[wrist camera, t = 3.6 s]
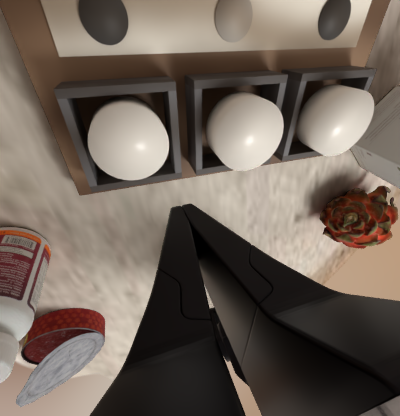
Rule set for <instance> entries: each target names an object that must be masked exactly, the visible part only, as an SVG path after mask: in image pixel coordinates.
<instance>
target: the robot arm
mask: <svg viewBox="0 0 400 416" xmlns="http://www.w3.org/2000/svg"><path fill="white" fill-rule="evenodd" d="M204 284H205V287H206V289H207V291H208V293H209V296H210V298H211V300H212V303H213V305H214V308H209V304H208V300H207V295H206V291H205V287H204ZM223 356H224V357H223ZM224 358H225V359H226V361H227V362H228V361H231V363H232V366H233V368H234V371H235V373H236V374H237V376H238V377H239V378H240V379H242V380H243V381H244V382H245V383H246V384H247V385H248V386H249V387H250V389H251V392H252V394H253V396H254V398H255V401H256V403H257V405H258V408H259V410H260V412H261V415H262V416H400V301H395V300H388V299H380V298H373V297H365V296H358V295H350V294H345V293H341V292H337V291H334V290H332V289H329V288H327V287H325V286H323V285H321V284H319V283H317V282H315V281H313V280H312V279H310V278H308V277H306V276H304V275H302V274H301V273H299V272H297V271H295V270H293V269H291V268H290V267H288V266H286V265H284V264H282V263H281V262H279V261H277V260H275V259H274V258H272V257H270V256H269V255H267V254H266V253H264V252H263V251H261V250H259V249H258V248H256V247H255V246H254V245H251V244H250V243H249V242H247V241H246V240H245V239H243V238H242V237H240V236H239V235H237V234H236V233H234V232H233V231H231V230H230V229H228V228H227V227H225V226H224V225H222V224H221V223H219V222H218V221H216V220H215V219H213V218H212V217H210V216H209V215H207V214H206V213H205V212H203V211H202V210H200V209H199V208H197V207H196V206H194V205H193V204H186V205H182V207H181V206H176V207H172V208H171V210H170V215H169V219H168V224H167V228H166V233H165V237H164V242H163V246H162V251H161V255H160V260H159V264H158V270H157V272H156V277H155V281H154V285H153V289H152V292H151V295H150V298H149V301H148V304H147V307H146V310H145V312H144V315H143V318H142V320H141V323H140V326H139V328H138V331H137V333H136V336H135V339H134V341H133V344H132V347H131V349H130V352H129V354H128V356H127V358H126V361H125V363H124V365H123V367H122V369H121V370H120V372H119V374H118V375H117V377H116V378H115V380H114V381H113V383H112V384H111V386H110V387H109V389H108V390H107V391H106V393H105V394H104V396H103V397H102V399H101V400H100V401H99V403H98V404H97V406H96V407H95V409H94V410H93V412H92V413H91V414H90V416H246V415H245V412H244V410H243V407H242V405H241V402H240V399H239V397H238V394H237V391H236V389H235V386H234V383H233V381H232V378H231V376H230V373H229V370H228V368H227V365H226V362H225V360H224Z"/></svg>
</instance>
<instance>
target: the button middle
mask: <svg viewBox="0 0 400 416" xmlns="http://www.w3.org/2000/svg"><path fill="white" fill-rule="evenodd" d="M283 128H284V124H283V117H282V114H281V112H280V110H279V108H278V107H277V106H276V105H275V104H274V103H272V102H270V101H268V100H266V99H264V98H261V97H259V96H257V95H254V94H252V93H249V92H245V91H239V92H234V93H231V94H229V95H227V96H225V97H224V98H222V99H221V100H220V101H219V102H218V103H217V104H216V105H215V106H214V108H213V109H212V111H211V112H210V114H209V117H208V120H207V123H206V139H207V142H208V144H209V146H210V148H211V149H212V150H213V152H214V153H215V154H216V155H217V156H218V157H219V159H220V160H221V161H222V162H223V163H224V164H225V165H226V166H227V167H228V168H230V169H233V170H236V171H247V170H251V169H254V168H256V167H258V166H260V165H262V164H263V163H264V162H266V161H267V160H268V159H269V158H270V157H271V156H272V155H273V153H274V152H275V151H276V149H277V147H278V145H279V143H280V141H281V138H282V135H283Z"/></svg>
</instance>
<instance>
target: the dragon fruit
mask: <svg viewBox="0 0 400 416" xmlns="http://www.w3.org/2000/svg"><path fill="white" fill-rule="evenodd" d="M387 192H388V193H390V192H391V190H390V189H389V188H388V187H386V186H379V187H377V189H376V190H375V191H373V192H371V193H369V194H366V193H365V191H364V190H362V189H361V190H360V189H359V188H356V189H353V190H351V191H348V192H347V193H346V195H345V196H344V197H343V196H340V197H337V198H335V199H333V200H332V201H331V202H330V203H329V204H327V209H326V210H323V211H322V213H321V216H320V220H321V221H322V223H323V224H324V225H325V226H327V227H326V228H324V232H323V234H325V235H326V236H328V237H330V238H331V239H333V240H334V241H336V242H343V244H345V245H346V246H348V247H353V248H365V247H366V246H374V245H378V244H381V243H383V242H385V241H386V240H389V239H390V238H391V237H392V233H391V231H390V228H391V225H392V224H394V223H395V222H396V220H397V219H398V209H397V208H396V207H394V204H393V201H394V198H393V197H392V198H391V199H390V204H391V206H390V205H388V203H387V201H386V197H387Z"/></svg>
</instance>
